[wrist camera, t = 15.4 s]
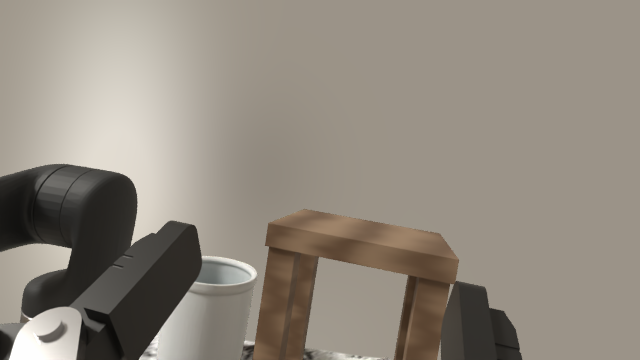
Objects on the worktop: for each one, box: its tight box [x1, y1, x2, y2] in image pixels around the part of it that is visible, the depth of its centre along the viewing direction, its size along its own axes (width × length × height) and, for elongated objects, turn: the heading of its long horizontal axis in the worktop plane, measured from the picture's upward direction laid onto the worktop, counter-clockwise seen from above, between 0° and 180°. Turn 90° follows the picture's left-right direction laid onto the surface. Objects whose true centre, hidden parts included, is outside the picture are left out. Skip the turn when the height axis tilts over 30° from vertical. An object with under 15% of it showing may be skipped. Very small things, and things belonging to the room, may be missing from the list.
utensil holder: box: [157, 256, 257, 360], centre depth 63 cm, size 15×15×18 cm
